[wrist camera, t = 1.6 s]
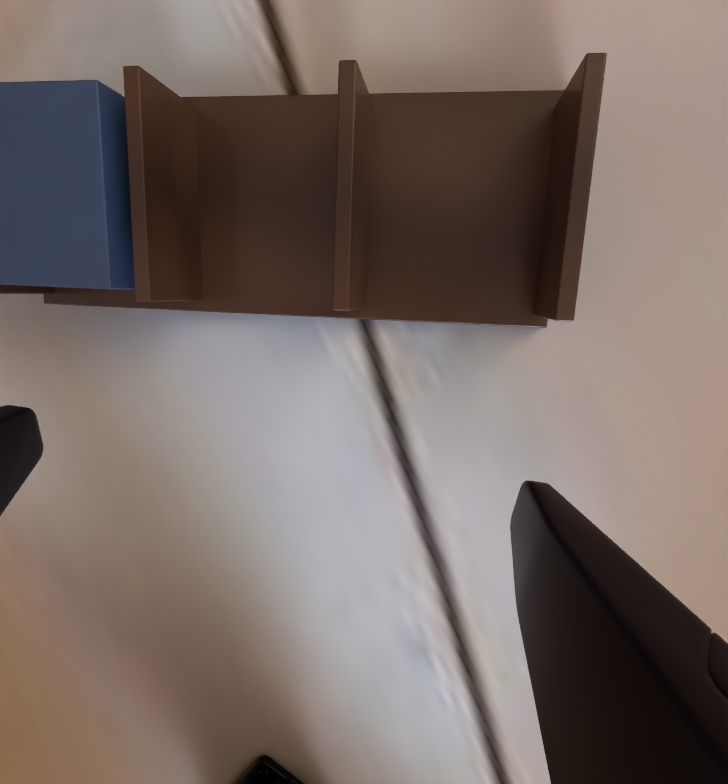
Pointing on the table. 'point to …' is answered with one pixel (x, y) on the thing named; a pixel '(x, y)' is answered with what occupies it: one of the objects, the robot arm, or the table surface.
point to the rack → (358, 202)
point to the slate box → (64, 186)
